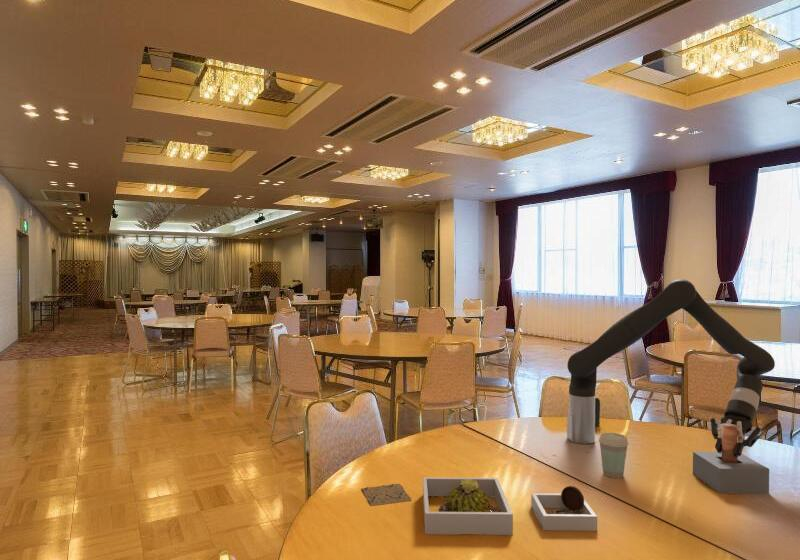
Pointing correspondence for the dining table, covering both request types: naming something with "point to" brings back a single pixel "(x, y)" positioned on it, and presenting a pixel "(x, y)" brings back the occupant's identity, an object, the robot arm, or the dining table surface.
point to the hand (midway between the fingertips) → (727, 453)
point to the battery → (597, 411)
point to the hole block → (731, 473)
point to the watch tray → (562, 521)
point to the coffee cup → (613, 454)
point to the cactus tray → (466, 520)
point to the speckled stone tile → (385, 494)
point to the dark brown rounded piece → (571, 500)
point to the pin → (729, 442)
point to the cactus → (467, 499)
